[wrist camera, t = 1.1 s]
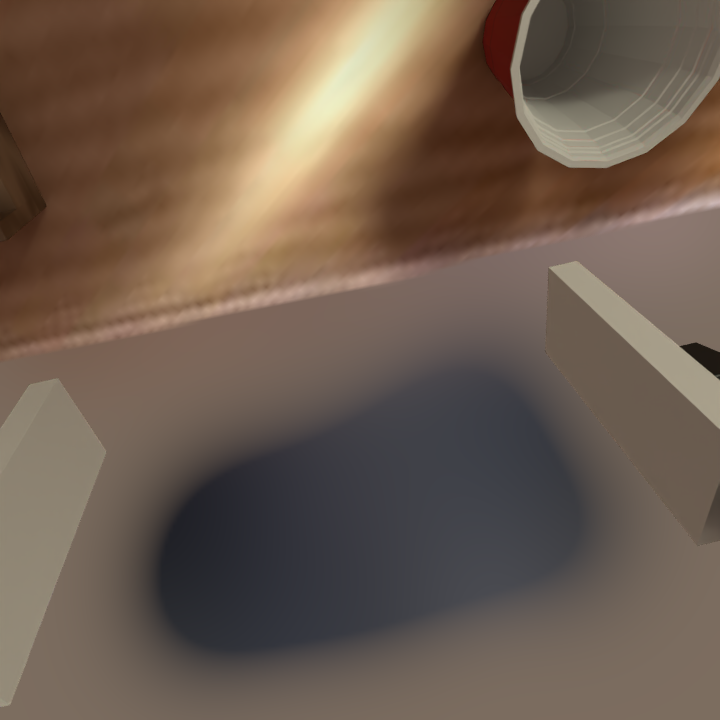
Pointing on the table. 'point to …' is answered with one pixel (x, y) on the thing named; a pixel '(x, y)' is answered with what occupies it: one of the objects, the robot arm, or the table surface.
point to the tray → (15, 188)
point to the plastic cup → (603, 71)
